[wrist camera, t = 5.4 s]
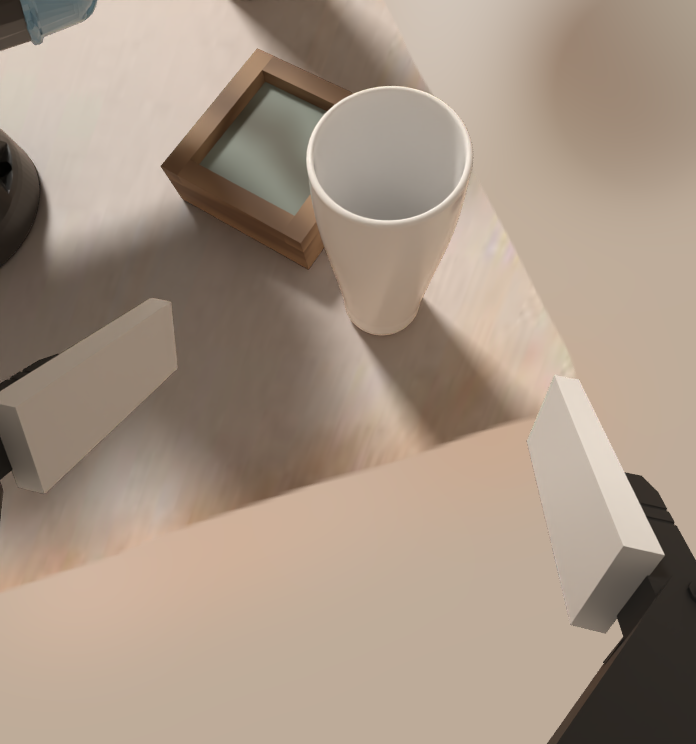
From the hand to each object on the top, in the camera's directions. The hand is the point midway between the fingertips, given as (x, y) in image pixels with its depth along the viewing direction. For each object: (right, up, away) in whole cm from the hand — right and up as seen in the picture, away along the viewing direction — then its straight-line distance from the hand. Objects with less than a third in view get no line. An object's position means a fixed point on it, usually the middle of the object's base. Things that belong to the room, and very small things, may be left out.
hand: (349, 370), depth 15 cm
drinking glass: (+2, +5, +17) cm, 18 cm away
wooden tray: (-5, +15, +20) cm, 26 cm away
